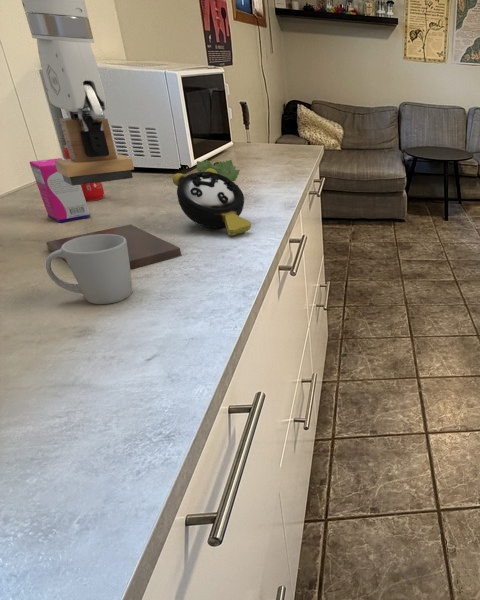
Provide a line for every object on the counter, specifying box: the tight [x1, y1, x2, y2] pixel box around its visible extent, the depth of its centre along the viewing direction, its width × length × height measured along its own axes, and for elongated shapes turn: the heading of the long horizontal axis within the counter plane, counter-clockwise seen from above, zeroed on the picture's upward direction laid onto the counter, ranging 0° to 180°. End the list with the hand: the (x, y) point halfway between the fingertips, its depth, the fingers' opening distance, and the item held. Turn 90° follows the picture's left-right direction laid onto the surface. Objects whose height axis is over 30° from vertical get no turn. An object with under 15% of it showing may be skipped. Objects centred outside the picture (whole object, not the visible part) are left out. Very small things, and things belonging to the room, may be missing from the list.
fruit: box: [195, 159, 241, 187], centre depth 115 cm, size 10×11×15 cm
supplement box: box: [29, 157, 91, 223], centre depth 96 cm, size 6×6×12 cm
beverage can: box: [63, 144, 105, 202], centre depth 108 cm, size 5×5×12 cm
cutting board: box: [45, 223, 182, 270], centre depth 84 cm, size 14×18×2 cm
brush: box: [55, 117, 135, 186], centre depth 79 cm, size 10×4×10 cm, turn 145°
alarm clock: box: [172, 168, 252, 236], centre depth 97 cm, size 12×15×15 cm
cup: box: [45, 234, 133, 305], centre depth 68 cm, size 8×10×8 cm
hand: (94, 153), depth 79 cm, fingers closed on brush, 2 cm apart
